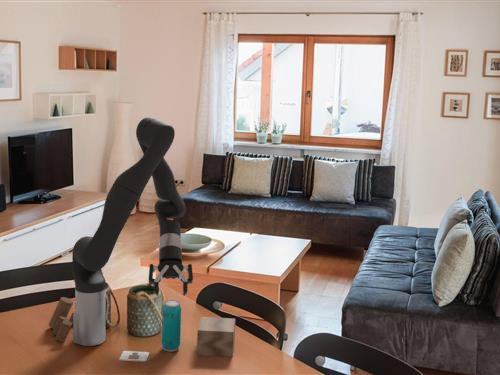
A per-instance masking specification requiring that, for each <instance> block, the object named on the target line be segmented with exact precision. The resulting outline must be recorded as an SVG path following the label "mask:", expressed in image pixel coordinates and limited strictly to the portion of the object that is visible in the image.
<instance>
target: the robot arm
mask: <svg viewBox="0 0 500 375" xmlns="http://www.w3.org/2000/svg"><path fill="white" fill-rule="evenodd" d="M135 135H136V140H137V142H138V144H139V147H140V149H141V151H142V154H143V155H142V157H141V158H140V159H139V160H138V161H137V162H136V163H135V164H133V165H132V166H130V167H129V168H127V169H125V170H124V171H122V173H120V174H119V175H118V176H117V177H116V178H115V180H114V183H113V184H112V185H111V187H110V189H109V191H108V192H107V195H106V197H105V202H104V204H103V211H102V215H101V216H102V217H101V220H100V223H99V225H98V228H97V229H96V231H95V232H94V234H93V236H91V235H90V236H83V237H81V238H79V239H78V240H76V242H75V244H74V245H73V249H72V254H71V256H72V257H71V260H72V278H73V281H74V286H75V289H74V291H75V293H74V294H75V295H74V297H75V300H74V301H75V305H74V306H75V308H74V309H75V312H73V313H74V315H73V324H72V326H73V334H72V335H73V344H77V345H81V346H85V347H92V346H97V345H101V344H102V343H104V342H105V341H106V334H107V333H106V332H107V331H106V298H107V297H106V295H107V294H106V286H107V285H106V284H107V283H106V278H105V276H104V273H103V271H102V269H103V268H104V267H105V266H106V264H108V262H109V260H110V258H111V256H112V254H113V251H114V249H115V246H116V243H117V242H118V239H119V237H120V234H121V233H122V231H123V229H124V228H125V225H126V224H127V221H129V220H128V219H129V218H130V216H131V214H132V213H133V211H134V209H135V207H136V205H137V203H138V202H139V199H141V198H140V197H141V196H142V194H143V192H144V190H145V188H146V186H147V185H148V182H149V181H150V179H151V178H152V181H153V186H154V189H155V194H156V196H157V198H158V200H156V202H155V204H154V213H155V215H156V219H157V221H158V225H159V241H158V243H159V244H158V263H159V264H158V265H154V264H153V263H150V264H149V271H148V284H149V285H151V284H152V285H153V293H154V295H156V296H160V295H159V293H160V292H159V290H160V289H159V284H160V283H161V282H162V281H163V280H164V279H166V280H169V279H172V280H175V279H177V280H178V281H179V282H181V283H182V296H186V294H188V285H189V284H193V282H194V276H193V275H194V274H193V265H192V263H189V264H188V265H184V264H183V256H182V255H183V254H182V253H183V247H182V244H183V242H182V239H181V238H182V236H181V230H182V229H181V225H180V223H179V222H178V221H177V220H173V219H178V218H182V217H184V216H185V214H186V209H187V208H186V204H185V201H184V199H183V198H182V196H181V194H180V192H179V190H178V188H177V184H176V180H175V176H174V173H173V171H172V168H171V167H170V165H169V164H168V162H167V160H166V158H165V156H166V155H167V153H168V151H169V149H171V146H172V145H173V142H174V140H175V128H174V127H173V126H172V125H170V124H169V123H166V122H164V121H161V120H158V119H156V118H154V117H144V118H142V119H141V120H139V122H138V124H137V126H136V130H135ZM184 270H185V272H186V273H187V275H188V278H187V277H186V276H185V274H184V273H183V271H184ZM156 271H158V272H159V273H158V275H157V276H156V277H155V278H153V276H154V273H155V272H156Z"/></svg>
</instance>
